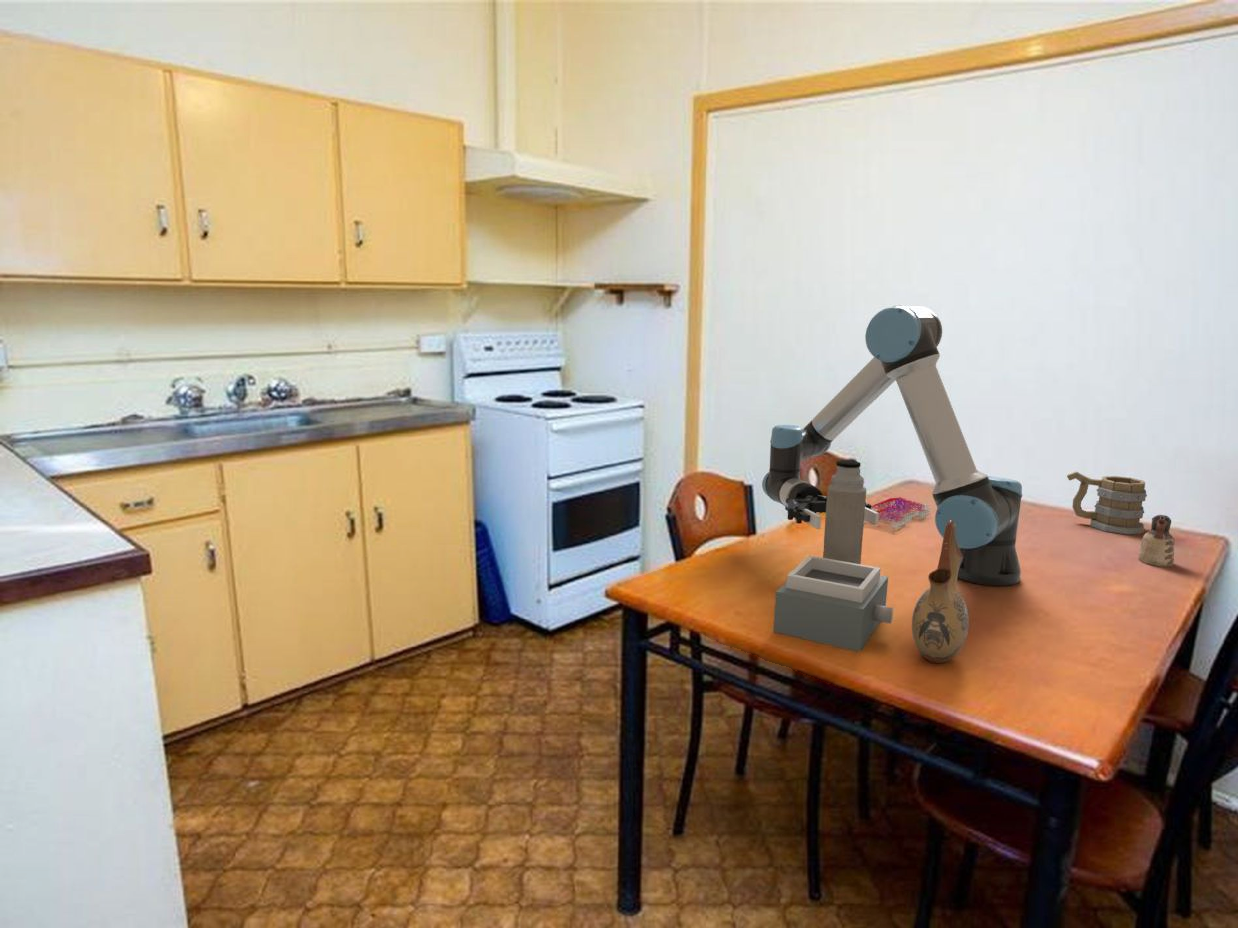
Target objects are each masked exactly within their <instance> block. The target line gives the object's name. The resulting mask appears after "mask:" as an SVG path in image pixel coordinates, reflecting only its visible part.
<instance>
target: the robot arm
mask: <svg viewBox="0 0 1238 928" xmlns="http://www.w3.org/2000/svg"><path fill="white" fill-rule="evenodd" d="M942 336H943V325H942V322H941V320H940V318H939V317H938V316H937V314H936V313H935V312H933V311H932V310H931V309H929V308H927V307H925V306H906V305H900V304H899V305H894V306H891V307H886V308H884V309H882V310H880V311H878V312H877V313H876V314H874V316H873V317H872V318H871V320H869V323H868V325H867V327H866V330H865V335H864V337H865V339H864V340H865V345H866V348H867V350H868V351H869V353H870V354H871V355H872V357H873V358H871V359H870V360H869V362H867V363H866V365H865V366H864V367H863V368H862V369H860V371H859V372H858V373H857V374H856V375H854V376H853V377H852V378H851V380H849V382H847V384H845V386H844V387H843V388H842V389H841V390H840V391H839V392H838V393H837V394H836V395H834V397H833V398H832V399H830V401H829V402H828V403H827V404H826V405H825V406H824V407H823V408H822V409H821V410H820V411H819V412H818V413H817V414H816V415H815V416H814V417H813V418H812V420H810V421H809V423H807V424H806V425H805V426H804V427H803V428H802V427H801V426H799V425H791V424H777V425H775V426H773V428H772V429H771V437H770V442H769V443H770V451H769V453H770V454H769V470H768V472H767V473H766V474H765V475H764V477H763V479H762V481H761V486H762V490H763V493H765V495H766V496H768V497H769V498H770V499H771V500H772V501H773V502H776V503H779V504H781V505H782V506H784V509H785V510H786V511H787V520H789V521H793V520H794V519H795V523H796V524H801V525H802V523H803V522H804V523H806V524H808V525H809V526H811V527H813V528H815V529H816V530H821V527H822V516H821V515H819V514H823V513H825V514H826V504H827V495H825V494H824V495H823V493H822V491H821V489H820V488H819V487H817V486H816V485H813V484H811V483H809V482H807V481H805V480H802V479H801V478H800V477H801V476H800V475H801V467H802V465H801V464H802V461H803V460H806V459H810V458H815V457H819V456H821V455H823V454H825V453H827V451H829V449H830V448H831V445H832V442H833V441H834V440H835V439H836V438H837V437H839V435H841V434H842V432H844V431H845V430H846V429H847V428H848V427H849V426H850V425H851V424H852V423H853V422H854V421H855V420H856V419H857V418H858V417H859V416H860V415H861V414H862V413H863V412H864V411H866V409H868V407H869V406H870V405H872V404H873V403H874V401H876V400H877V399H878V398H879V397H880V396H881V395H882V394H883V393H884V392H885V391H887V389H889V388H890V387H891V386H892V384H894V383H895V381H896V385H897V386H898V389H899V391H900V394H901V397H902V399H903V401H904V405H905V408H906V410H907V412H908V415H909V418H910V420H911V423H912V425H913V428H914V431H915V433H916V435H917V438H918V441H919V443H920V446H921V448H922V450H923V454H924V455H925V458H926V461H927V464H928V466H929V469H930V472H931V474H932V477H933V479H934V481H935V485H934V487H933V488H932V491H931V495H932V497H933V500H934V503H935V506H936V508H937V509H936V511H935V515H934V523H935V527H936V529H937V532H938V533H939V535H940V537H942V538H943V537H944V532H945V527H946V525H947V523H948V521H949V520H954V521H955V524H956V540H957V544H958V547H959V549H960V551H961V553H962V556H963V559H962V562H961V565H960V567H959V571H958V576H957V579H960V580H962V581H965V582H969V583H972V584H973V583H974V584H979V585H983V586H984V585H985V586H994V587H995V586H997V587H1005V586H1013V585H1016V584H1018V583H1020V581H1021V574H1022V571H1021V569H1022V568H1021V566H1020V562H1019V558H1018V553H1017V549H1016V542H1017V536H1018V534H1017V533H1018V526H1019V517H1020V511H1021V510H1020V509H1021V501H1022V497H1023V493H1022V492H1023V486H1022V483H1021V482H1020V481H1018V480H1014V479H1011V478H1007V477H1006V478H1005V477H998V476H989V475H988V474H986V473H984V472H982V471H979V470H978V469H977V467H976V464H975V461H974V459H973V457H972V454H971V451H970V450H969V446H968V444H967V442H966V440H965V439H966V438H965V436H964V434H963V431H962V428H961V426H960V424H959V421H958V419H957V416H956V414H955V412H954V411H955V410H954V409H953V408H954V407H953V406H952V403H951V401H950V398H949V396H948V394H947V391H946V388H945V386H944V384H943V381H942V378H941V375H940V372H939V370H938V368H937V362H939V361H938V360H939V359H940V357H941V354H940V352H939V350H938V346H939V344H940V343H941V341H942ZM871 506H872V504H870V503H867V501H866V502H865V515H864V521H866V522H868V524H871V525H873V526H879V521H878V518H879V517H880V514H879V513H877V512H876V511H875V510H874V511H873V510H871ZM817 513H819V514H817Z"/></svg>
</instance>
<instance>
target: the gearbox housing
mask: <svg viewBox="0 0 1238 928" xmlns="http://www.w3.org/2000/svg"><path fill="white" fill-rule="evenodd" d="M888 583H889V576H885V575H882V574H881V567H876V566H872V565H865V564H862V563H861V564H855V563H850V562H844V561H838V560H832V559H827V558H823V557H821V556H820V557H819V556H815V555H808V556H807V557H806V558H805V559H804V560H803V561H802V562H800V563H799V564H798V565H797V566H795V568H794V569H793V570H792V571H790V572H789V573H788V574H787V575H786V582H785V583H784V584H783V585H782V586H781V587H779V588H778V589H777V590H776V591H775V599H774V614H773V615H774V620H773V632H774V633H776V634H780V635H785V636H789V637H794V638H798V639H802V640H807V641H811V642H816V643H819V644H825V645H828V646H832V647H836V648H837V647H838V648H842V649H846V650H849V651H854V652H859V653H861V651H862V650H863V648H864V647H865V645H866V644H867V643H868V641H869V639H870V638H871V636H872V635H873V633H874V632H875V630H876V629H877V628H878V626H879V624H880V623H885V624H889V625H891V624H892V621H893V619H894V618H893V617H894V607H891V606H887V596H888V595H887V594H888V585H889V584H888Z"/></svg>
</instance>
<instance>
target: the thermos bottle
mask: <svg viewBox="0 0 1238 928" xmlns="http://www.w3.org/2000/svg"><path fill="white" fill-rule="evenodd" d="M836 466H837V467H836V472H835V474H833V475H831V480H830V483H831V484H828V486H827V493H826V497H827V504H826V513H825V517H824V518H825V520H824V537H823V553H822V554H823V555H822V558H827V559H832V560H838V561H844V562H850V563H855V564H861V565H862V550H863V549H862V548H863V547H862V546H863V534H864V526H865V524H864V515H865V502H866V503H867V501H866V500H867V488H866V487H865V486H864V484H865V481H864V480H865V479H864V477H863V476H861V468H860V467H861V462H859V461H857V460H851V459H850V460H849V459H847V460H846V459H843V460H842V459H840V460H837V461H836Z"/></svg>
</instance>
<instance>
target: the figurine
mask: <svg viewBox="0 0 1238 928" xmlns="http://www.w3.org/2000/svg"><path fill="white" fill-rule="evenodd" d="M1171 525H1172V519H1171V518H1170V516H1168V515H1165V514H1157V515H1155V516H1153V517H1152V518H1151V527H1150V530H1148V531H1146V533H1145V534H1143V537H1142V540H1141V543H1140V546H1139V547H1140V548H1139V552H1138V560H1139V561H1140V563H1144V564H1146V565H1149V566H1154V567H1155V566H1156V567H1163V568H1164V567H1166V568H1167V567H1173V565H1174V561H1175V552H1174V551H1175V539H1174V537H1173V536H1172V534H1170V533H1171V532H1170V530H1171V529H1170V528H1171Z"/></svg>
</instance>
